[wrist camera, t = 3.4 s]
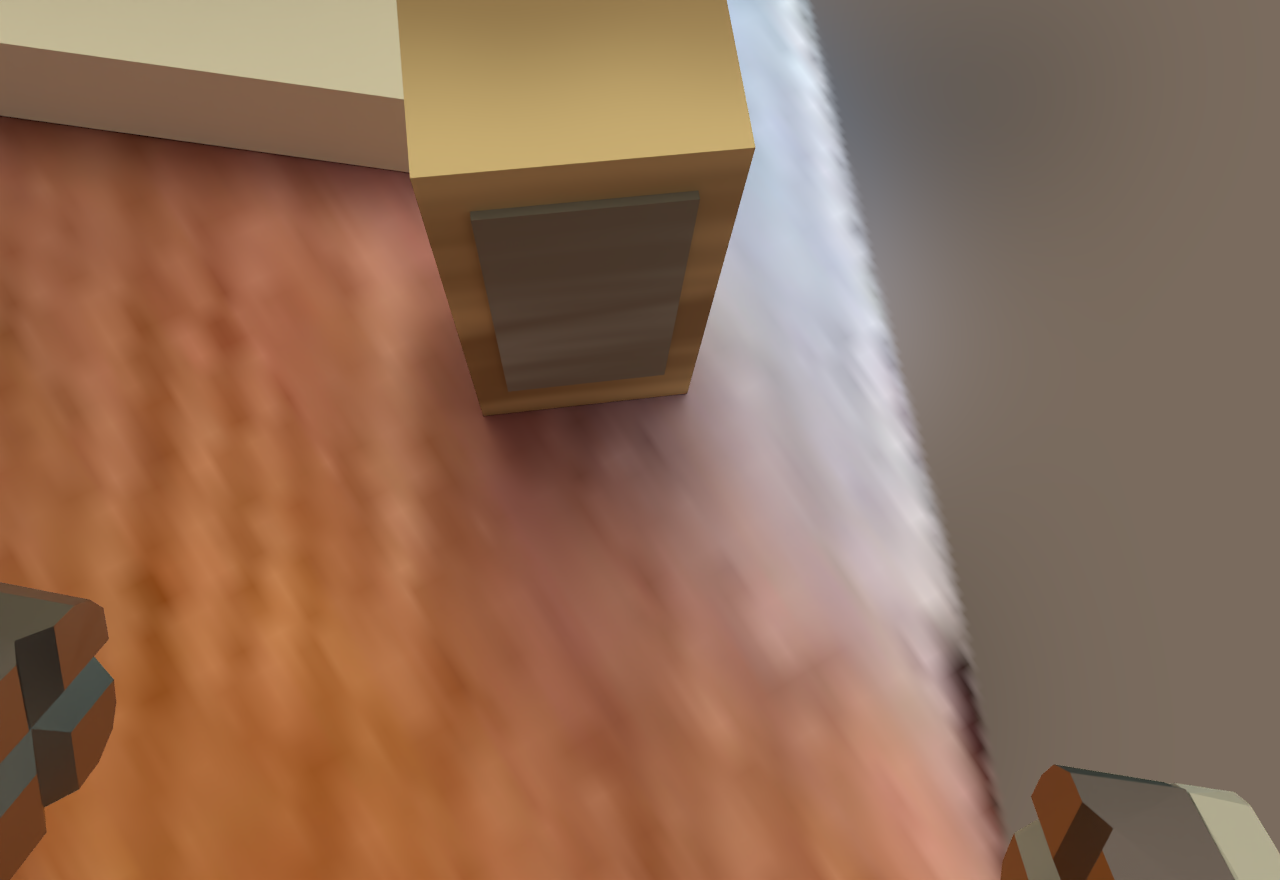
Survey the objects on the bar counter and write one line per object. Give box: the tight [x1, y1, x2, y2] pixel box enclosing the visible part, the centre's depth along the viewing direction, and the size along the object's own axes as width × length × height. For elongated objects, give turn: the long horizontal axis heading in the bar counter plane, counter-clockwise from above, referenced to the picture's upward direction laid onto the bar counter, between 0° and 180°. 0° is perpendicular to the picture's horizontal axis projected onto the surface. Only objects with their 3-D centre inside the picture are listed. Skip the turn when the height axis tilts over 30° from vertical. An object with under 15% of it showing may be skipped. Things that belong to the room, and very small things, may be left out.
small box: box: [396, 0, 755, 416], centre depth 19 cm, size 3×5×10 cm, turn 98°
